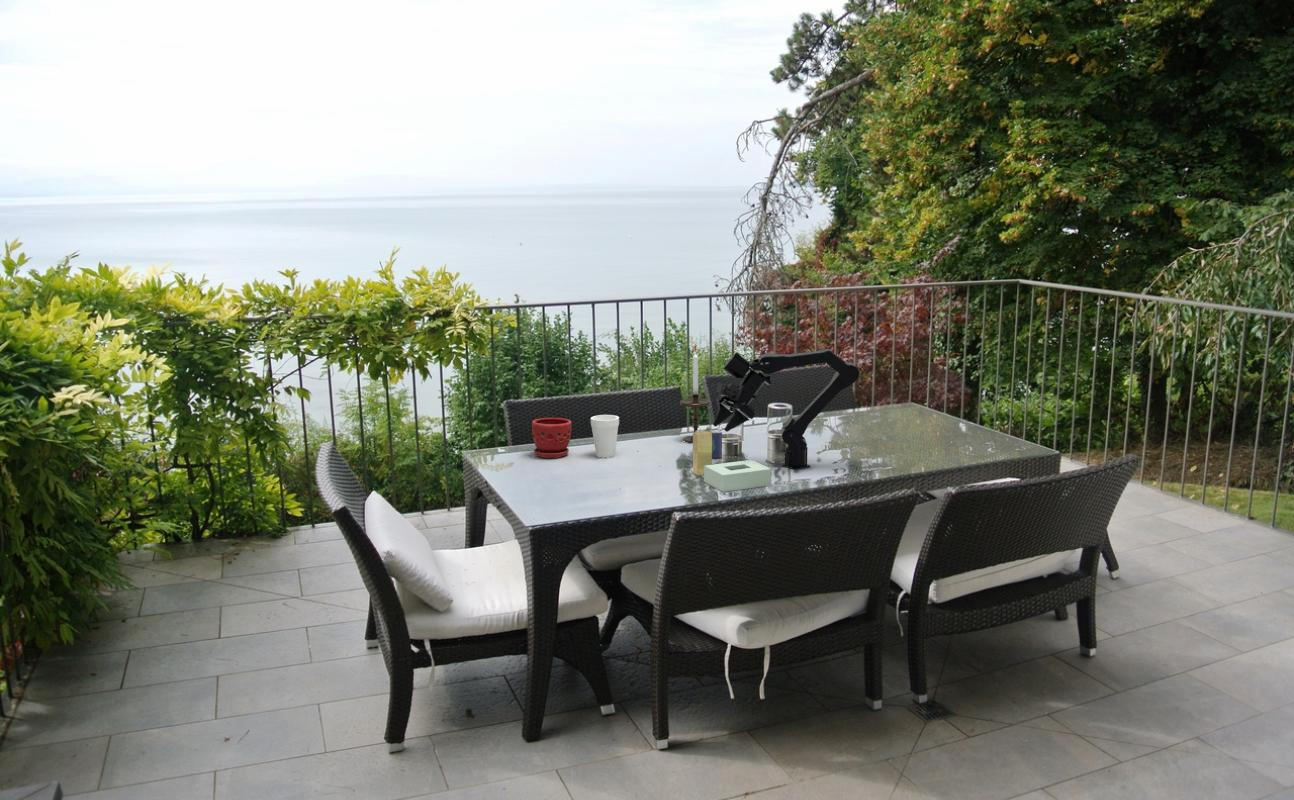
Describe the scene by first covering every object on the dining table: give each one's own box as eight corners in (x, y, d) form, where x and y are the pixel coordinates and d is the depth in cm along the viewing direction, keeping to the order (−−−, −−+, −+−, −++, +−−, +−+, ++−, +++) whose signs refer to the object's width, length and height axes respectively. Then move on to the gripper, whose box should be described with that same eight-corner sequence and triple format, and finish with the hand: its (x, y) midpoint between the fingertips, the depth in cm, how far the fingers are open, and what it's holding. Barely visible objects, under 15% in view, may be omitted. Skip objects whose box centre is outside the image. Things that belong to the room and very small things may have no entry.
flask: (722, 457, 315) (722, 425, 313) (721, 459, 312) (721, 427, 310) (695, 456, 317) (694, 424, 315) (693, 458, 314) (693, 426, 312)
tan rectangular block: (707, 471, 297) (707, 430, 295) (711, 473, 294) (711, 432, 292) (693, 473, 295) (692, 432, 293) (697, 475, 293) (697, 434, 290)
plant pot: (562, 461, 312) (561, 425, 310) (526, 458, 317) (525, 423, 314) (578, 452, 324) (577, 417, 322) (543, 449, 329) (542, 415, 326)
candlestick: (709, 444, 332) (709, 345, 326) (678, 443, 334) (678, 345, 327) (712, 437, 343) (712, 341, 336) (682, 437, 344) (681, 341, 338)
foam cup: (588, 458, 315) (587, 420, 313) (596, 451, 324) (595, 414, 322) (615, 459, 313) (614, 421, 311) (622, 453, 322) (622, 415, 320)
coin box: (750, 475, 292) (751, 459, 291) (770, 485, 281) (771, 468, 280) (704, 481, 286) (704, 465, 285) (722, 491, 275) (722, 475, 274)
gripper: (718, 369, 304) (690, 409, 302) (742, 376, 286) (712, 418, 285) (743, 389, 307) (715, 428, 306) (768, 398, 290) (738, 439, 289)
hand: (719, 428), depth 296 cm, fingers open, 9 cm apart
